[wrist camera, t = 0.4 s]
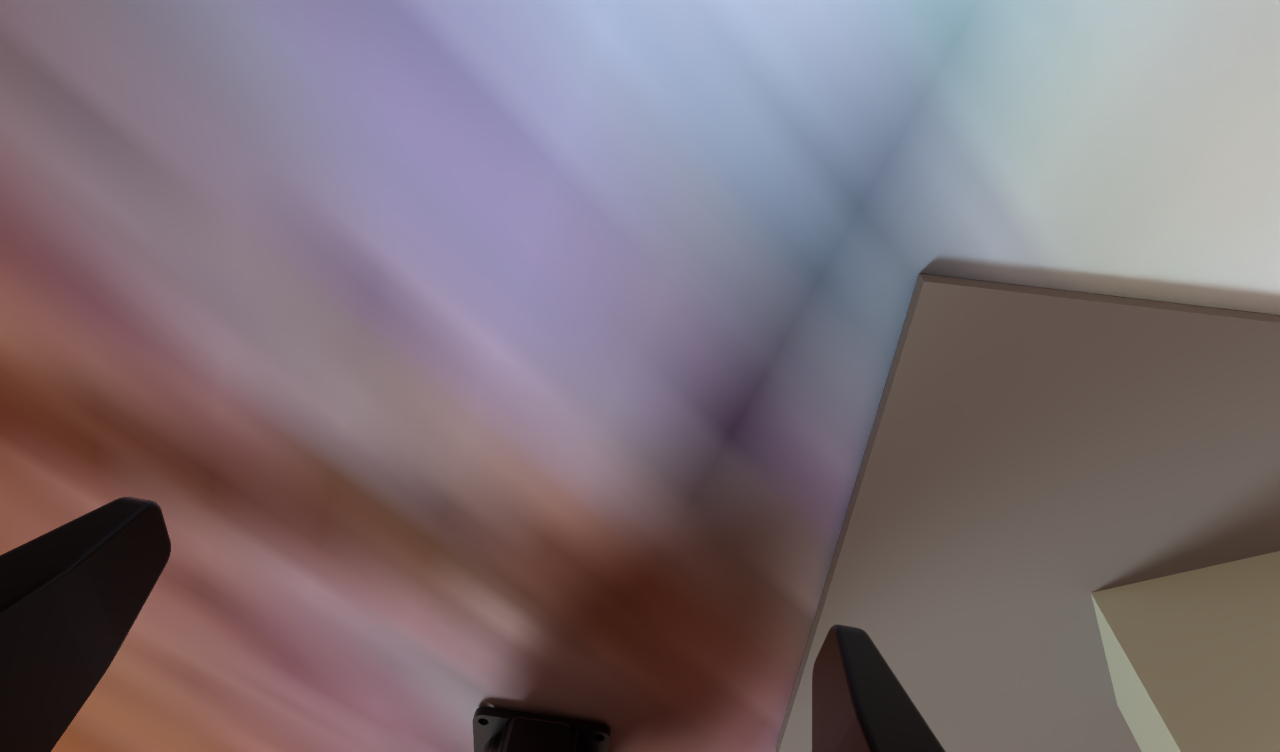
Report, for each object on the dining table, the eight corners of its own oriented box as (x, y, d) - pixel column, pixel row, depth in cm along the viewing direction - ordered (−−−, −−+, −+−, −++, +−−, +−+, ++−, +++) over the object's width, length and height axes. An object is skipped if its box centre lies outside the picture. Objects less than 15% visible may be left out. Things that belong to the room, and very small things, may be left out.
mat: (1209, 807, 34) (1217, 820, 34) (775, 747, 35) (776, 759, 34) (1601, 353, 22) (1623, 363, 21) (919, 273, 23) (923, 281, 22)
